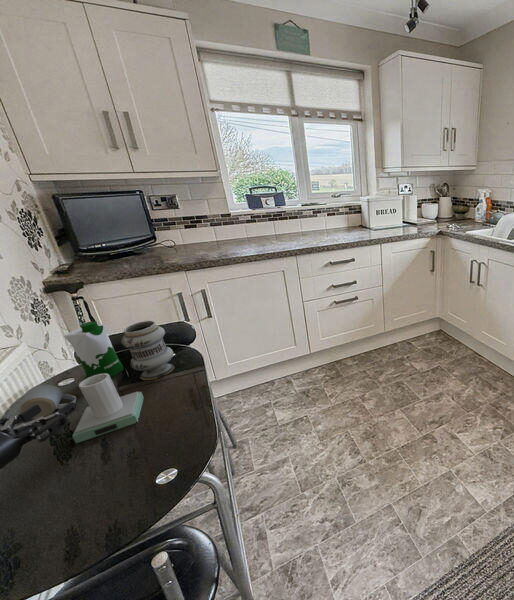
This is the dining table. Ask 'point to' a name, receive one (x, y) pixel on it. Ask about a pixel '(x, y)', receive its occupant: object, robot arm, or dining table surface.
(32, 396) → the ceramic mug
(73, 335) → the milk carton
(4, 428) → the robot arm
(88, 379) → the white cup
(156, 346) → the apothecary jar
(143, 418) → the dining table surface
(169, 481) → the dining table surface
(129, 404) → the kitchen scale
